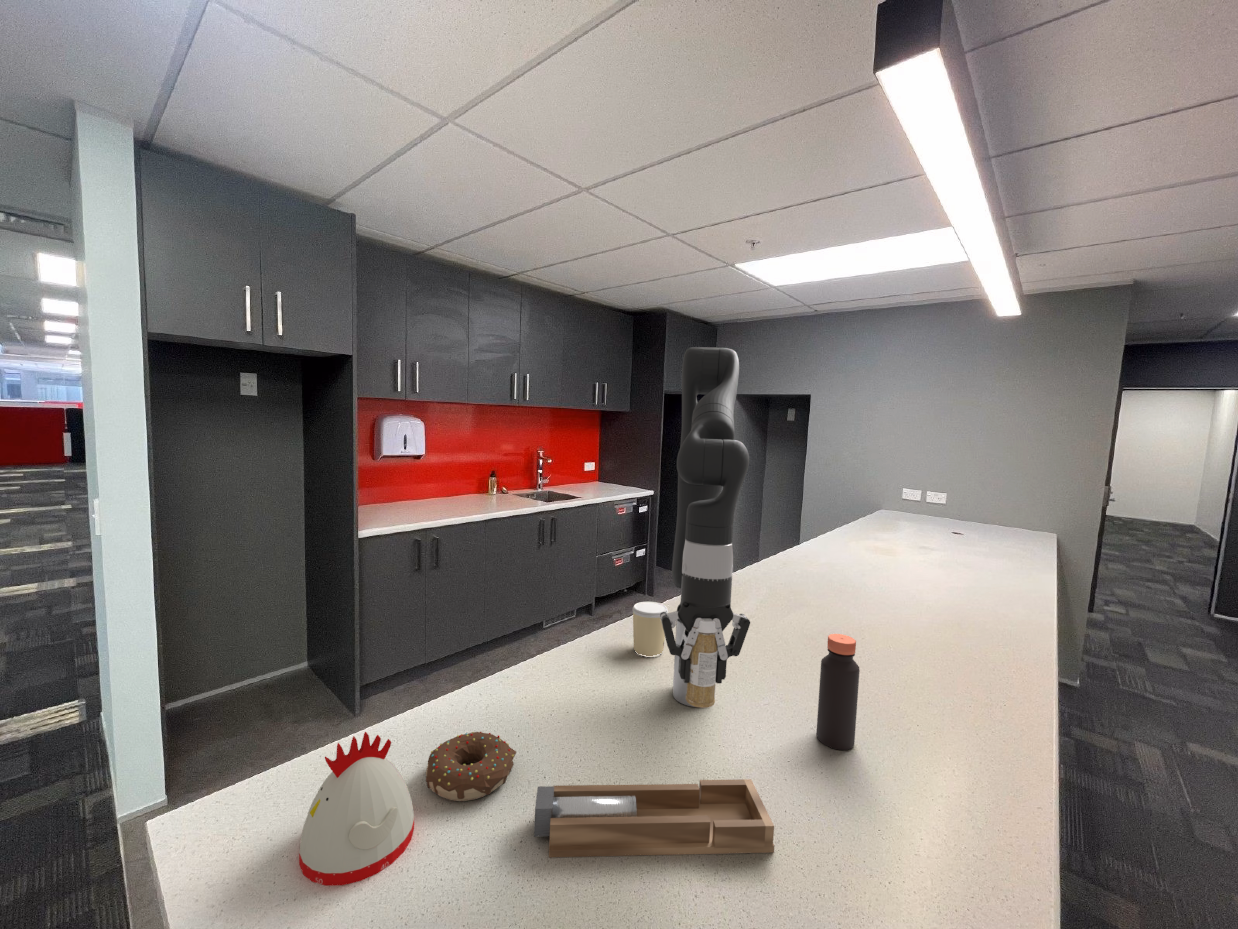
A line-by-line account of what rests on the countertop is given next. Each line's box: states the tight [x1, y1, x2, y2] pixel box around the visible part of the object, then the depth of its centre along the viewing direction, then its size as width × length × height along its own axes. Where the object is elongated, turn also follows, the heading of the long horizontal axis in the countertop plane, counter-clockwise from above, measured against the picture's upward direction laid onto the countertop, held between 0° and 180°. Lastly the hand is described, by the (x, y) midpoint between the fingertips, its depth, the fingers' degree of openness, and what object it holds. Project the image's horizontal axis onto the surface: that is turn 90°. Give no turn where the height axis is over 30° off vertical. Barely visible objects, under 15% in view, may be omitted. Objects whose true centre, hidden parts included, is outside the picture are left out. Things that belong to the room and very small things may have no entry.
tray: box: [548, 778, 775, 858], centre depth 73 cm, size 9×31×4 cm, turn 94°
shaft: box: [533, 785, 637, 837], centre depth 72 cm, size 4×14×4 cm, turn 94°
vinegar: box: [816, 633, 860, 751], centre depth 96 cm, size 7×7×20 cm
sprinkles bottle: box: [686, 618, 718, 709], centre depth 77 cm, size 5×5×14 cm
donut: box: [425, 731, 517, 802], centre depth 82 cm, size 14×14×5 cm
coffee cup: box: [632, 601, 669, 656], centre depth 133 cm, size 9×9×12 cm
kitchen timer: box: [298, 731, 415, 886], centre depth 69 cm, size 14×14×15 cm
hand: (701, 680), depth 77 cm, fingers closed on sprinkles bottle, 4 cm apart
